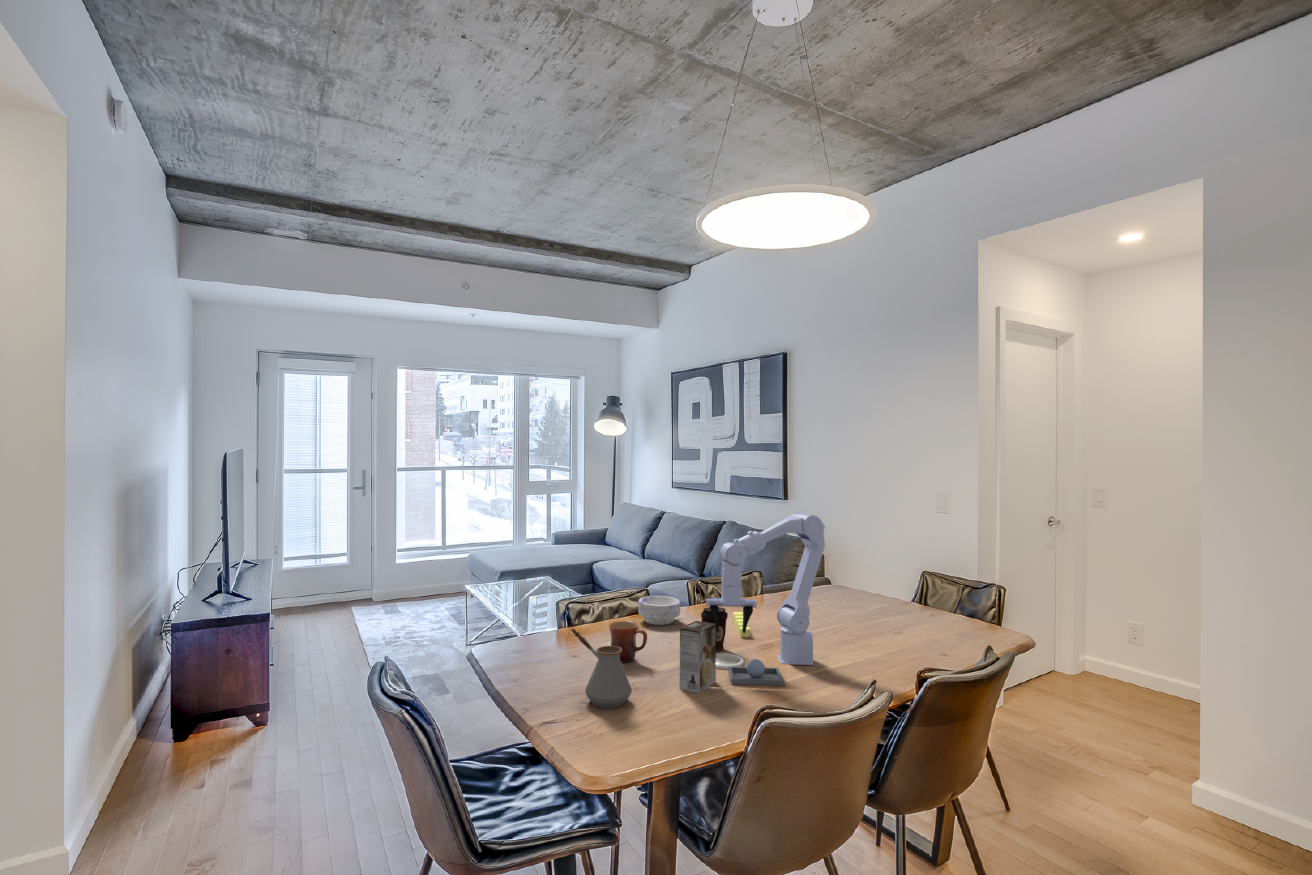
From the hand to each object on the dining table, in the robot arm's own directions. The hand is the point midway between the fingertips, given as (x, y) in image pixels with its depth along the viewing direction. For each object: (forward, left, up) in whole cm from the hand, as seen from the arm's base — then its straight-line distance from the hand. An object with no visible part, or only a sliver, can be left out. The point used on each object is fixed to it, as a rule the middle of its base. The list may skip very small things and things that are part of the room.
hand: (730, 631), depth 189 cm
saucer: (+2, -2, -10) cm, 10 cm away
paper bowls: (+22, -46, -10) cm, 52 cm away
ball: (-6, +11, -9) cm, 16 cm away
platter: (-9, -41, -11) cm, 43 cm away
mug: (+30, -2, -10) cm, 32 cm away
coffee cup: (+4, -14, -10) cm, 18 cm away
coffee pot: (+36, +26, -10) cm, 46 cm away
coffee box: (+10, +17, -10) cm, 22 cm away
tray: (-6, +11, -10) cm, 16 cm away
